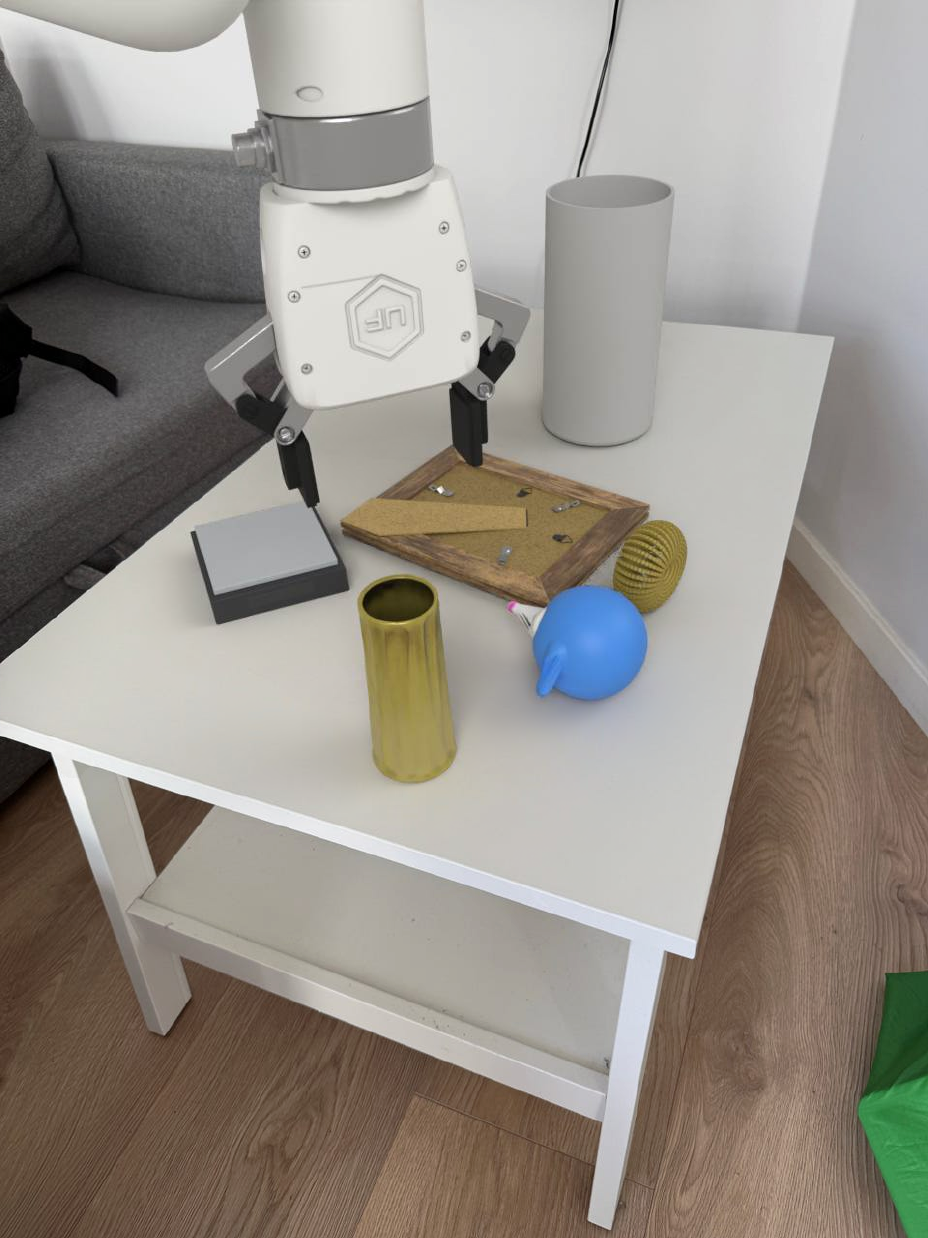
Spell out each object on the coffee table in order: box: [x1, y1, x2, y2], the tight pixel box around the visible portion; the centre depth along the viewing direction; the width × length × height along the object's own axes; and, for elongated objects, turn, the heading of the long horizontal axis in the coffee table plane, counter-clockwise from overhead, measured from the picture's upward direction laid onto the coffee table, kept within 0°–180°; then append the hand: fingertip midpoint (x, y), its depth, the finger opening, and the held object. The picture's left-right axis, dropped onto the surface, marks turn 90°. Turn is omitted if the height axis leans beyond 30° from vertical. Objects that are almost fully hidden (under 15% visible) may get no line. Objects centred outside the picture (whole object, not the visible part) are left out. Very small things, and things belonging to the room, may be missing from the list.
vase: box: [356, 573, 457, 783], centre depth 62 cm, size 6×6×14 cm
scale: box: [189, 500, 350, 625], centre depth 84 cm, size 12×12×3 cm
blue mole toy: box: [507, 584, 649, 701], centre depth 70 cm, size 12×12×8 cm
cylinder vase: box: [542, 174, 676, 447], centre depth 98 cm, size 12×12×25 cm
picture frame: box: [340, 443, 651, 608], centre depth 89 cm, size 19×2×24 cm
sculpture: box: [612, 519, 688, 614], centre depth 77 cm, size 8×4×8 cm, turn 140°
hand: (389, 475), depth 52 cm, fingers open, 9 cm apart
